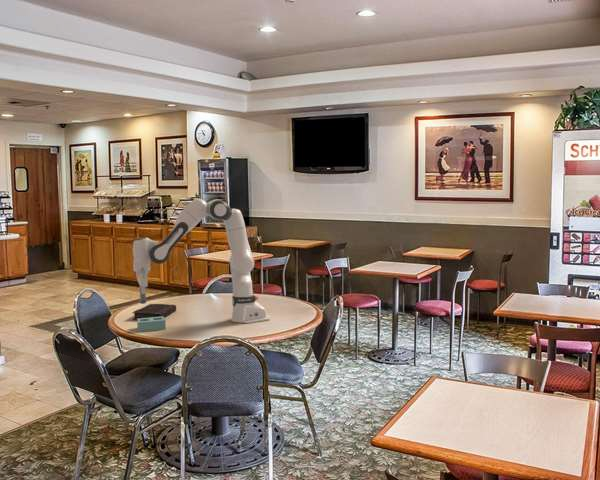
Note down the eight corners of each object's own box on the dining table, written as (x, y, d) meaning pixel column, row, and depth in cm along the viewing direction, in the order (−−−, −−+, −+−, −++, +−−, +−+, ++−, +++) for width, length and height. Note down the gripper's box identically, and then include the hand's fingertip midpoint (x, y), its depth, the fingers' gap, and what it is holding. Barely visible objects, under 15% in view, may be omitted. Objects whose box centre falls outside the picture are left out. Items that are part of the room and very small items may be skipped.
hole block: (163, 325, 319) (163, 316, 319) (165, 329, 310) (165, 320, 309) (137, 327, 315) (137, 318, 314) (138, 331, 305) (138, 322, 305)
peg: (145, 302, 312) (144, 280, 310) (146, 303, 309) (145, 281, 308) (140, 302, 310) (139, 280, 309) (140, 303, 308) (139, 281, 307)
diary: (176, 312, 355) (176, 304, 355) (161, 321, 330) (161, 313, 330) (148, 311, 358) (147, 303, 357) (130, 320, 333) (130, 312, 333)
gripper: (149, 269, 299) (150, 295, 300) (146, 264, 318) (147, 289, 320) (137, 270, 297) (138, 296, 298) (134, 265, 316) (135, 290, 317)
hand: (142, 292), depth 309 cm, fingers closed on peg, 3 cm apart
